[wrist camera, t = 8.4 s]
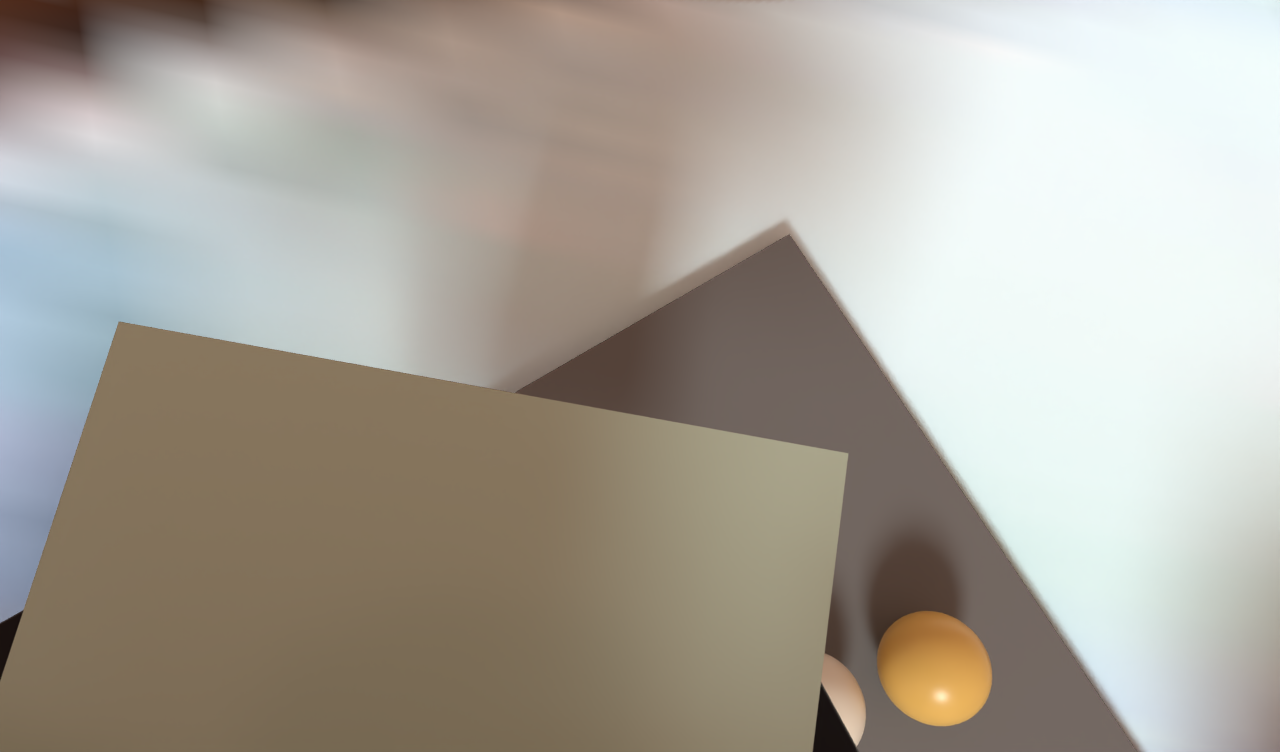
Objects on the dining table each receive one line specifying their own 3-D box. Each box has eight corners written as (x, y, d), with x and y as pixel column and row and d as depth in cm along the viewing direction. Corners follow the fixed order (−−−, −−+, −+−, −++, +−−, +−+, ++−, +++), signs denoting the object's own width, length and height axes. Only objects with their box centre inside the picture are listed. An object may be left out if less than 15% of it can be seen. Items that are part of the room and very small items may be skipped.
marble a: (865, 712, 22) (905, 742, 19) (781, 770, 22) (808, 810, 19) (809, 622, 22) (839, 637, 19) (726, 677, 22) (743, 701, 19)
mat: (1232, 908, 22) (1250, 919, 21) (651, 1371, 19) (652, 1397, 19) (785, 241, 25) (789, 234, 25) (241, 554, 23) (232, 555, 22)
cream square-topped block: (712, 494, 16) (848, 453, 7) (659, 834, 15) (739, 1363, 5) (403, 438, 16) (120, 321, 7) (322, 774, 15) (-173, 1200, 5)
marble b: (981, 674, 22) (1037, 698, 19) (899, 731, 22) (944, 764, 19) (923, 586, 23) (969, 596, 20) (842, 640, 22) (878, 658, 19)
